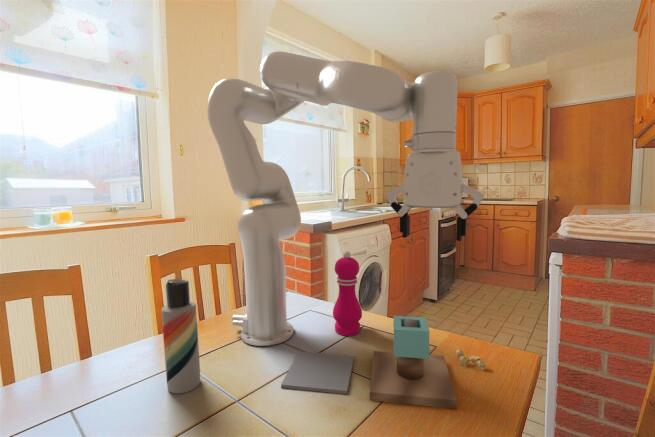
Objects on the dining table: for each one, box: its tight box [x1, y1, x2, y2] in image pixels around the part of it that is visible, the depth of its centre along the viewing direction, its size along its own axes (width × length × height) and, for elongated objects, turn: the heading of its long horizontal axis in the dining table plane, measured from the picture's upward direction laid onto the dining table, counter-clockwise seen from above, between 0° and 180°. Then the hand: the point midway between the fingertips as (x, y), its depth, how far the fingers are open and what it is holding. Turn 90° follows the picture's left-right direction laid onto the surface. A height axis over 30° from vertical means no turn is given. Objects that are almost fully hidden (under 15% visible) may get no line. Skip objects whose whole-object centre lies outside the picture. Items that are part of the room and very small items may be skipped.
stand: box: [369, 319, 458, 410], centre depth 63 cm, size 14×14×11 cm
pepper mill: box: [332, 250, 363, 337], centre depth 83 cm, size 7×7×20 cm
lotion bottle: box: [161, 278, 201, 395], centre depth 62 cm, size 6×6×20 cm
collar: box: [392, 315, 430, 359], centre depth 62 cm, size 6×6×5 cm
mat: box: [280, 351, 355, 395], centre depth 66 cm, size 12×12×1 cm
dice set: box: [455, 349, 487, 371], centre depth 69 cm, size 5×5×2 cm
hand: (431, 238), depth 64 cm, fingers open, 9 cm apart
